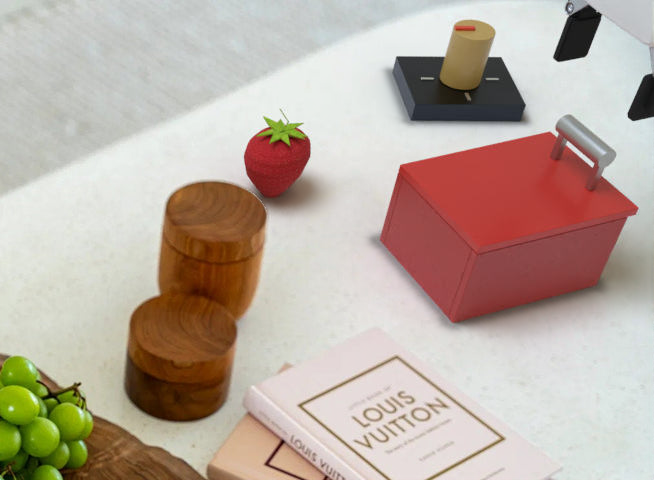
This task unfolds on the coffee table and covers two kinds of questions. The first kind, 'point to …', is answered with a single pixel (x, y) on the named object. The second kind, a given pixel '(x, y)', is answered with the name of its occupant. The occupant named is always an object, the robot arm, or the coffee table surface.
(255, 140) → the strawberry
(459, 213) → the hatch
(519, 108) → the panel
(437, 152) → the coffee table surface
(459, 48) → the tan rotary knob
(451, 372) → the coffee table surface
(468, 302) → the red open box
